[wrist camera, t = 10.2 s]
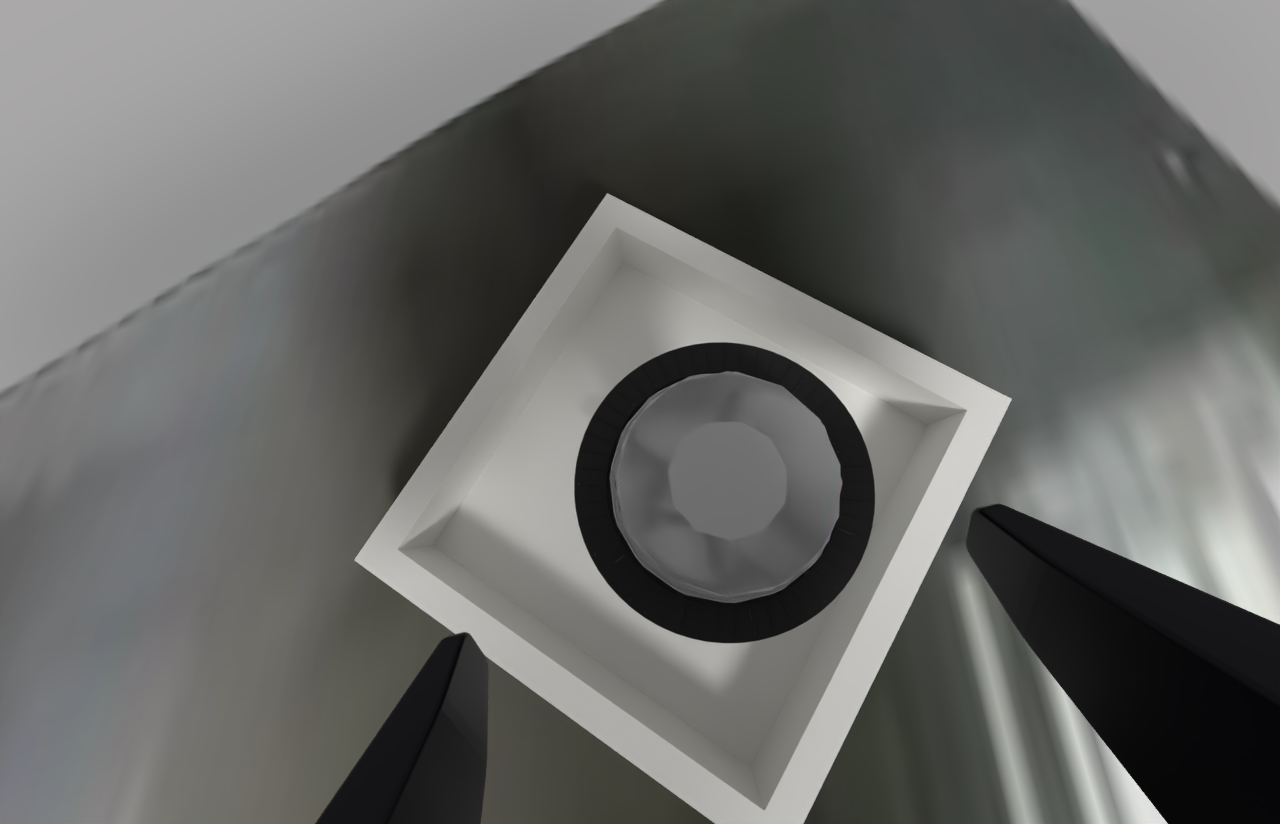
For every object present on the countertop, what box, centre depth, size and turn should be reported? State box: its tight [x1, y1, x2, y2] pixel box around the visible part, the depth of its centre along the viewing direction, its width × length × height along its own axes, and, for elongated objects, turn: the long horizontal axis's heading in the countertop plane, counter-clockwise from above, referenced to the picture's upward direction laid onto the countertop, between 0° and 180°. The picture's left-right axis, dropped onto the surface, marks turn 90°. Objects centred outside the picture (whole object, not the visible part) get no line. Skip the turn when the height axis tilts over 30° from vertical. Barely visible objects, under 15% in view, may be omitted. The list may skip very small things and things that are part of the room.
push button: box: [574, 342, 875, 643], centre depth 13 cm, size 7×5×10 cm
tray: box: [355, 193, 1012, 824], centre depth 17 cm, size 15×15×3 cm
